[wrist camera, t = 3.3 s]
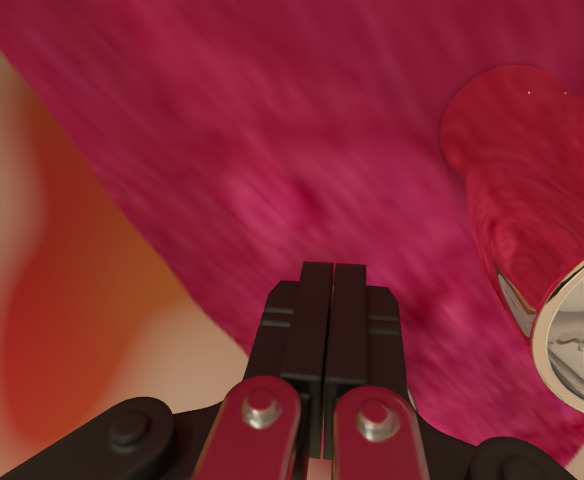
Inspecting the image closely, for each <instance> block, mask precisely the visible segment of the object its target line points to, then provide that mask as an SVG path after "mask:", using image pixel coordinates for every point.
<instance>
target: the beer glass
mask: <svg viewBox="0 0 584 480" xmlns="http://www.w3.org/2000/svg"><path fill="white" fill-rule="evenodd" d="M440 145H441V149H442V152H443V155H444V157H445V159H446V160H447V162H448V163H449V165H450V166H451V167H452V168H453V169H454V170H455V171H456V172H457V173H458V174H459V175H460V176H461V177H463V178H464V179H465V180H466V192H467V204H468V215H469V221H470V226H471V231H472V236H473V241H474V245H475V248H476V251H477V254H478V256H479V259H480V262H481V265H482V267H483V270H484V273H485V275H486V277H487V279H488V281H489V283H490V285H491V287H492V289H493V291H494V294H495V296H496V298H497V300H498V302H499V304H500V305H501V307H502V309H503V311H504V312H505V314H506V316H507V318H508V320H509V321H510V323H511V325H512V327H513V328H514V330H515V332H516V333H517V335H518V337H519V338H520V340H521V341H522V343H523V345H524V346H525V348H526V350H527V351H528V353H529V355H530V357H531V358H532V360H533V362H534V365H535V368H536V370H537V372H538V374H539V376H540V378H541V379H542V381H543V382H544V384H545V385H546V386H547V387H548V388H549V390H550V391H551V392H552V393H553V394H554V395H556V396H557V397H558V398H559V399H561V400H562V401H563V402H565V403H566V404H568V405H569V406H571V407H573V408H575V409H577V410H579V411H581V412H583V413H584V97H583V96H573V95H569V94H568V92H567V91H566V89H565V88H564V87H563V85H562V84H561V83H560V82H559V81H558V80H557V79H556V78H555V77H554V76H553V75H551V74H550V73H548V72H547V71H545V70H543V69H541V68H538V67H535V66H531V65H525V64H510V65H503V66H499V67H495V68H492V69H489V70H487V71H485V72H483V73H481V74H479V75H477V76H476V77H474V78H473V79H471V80H470V81H469V82H467V83H466V84H465V85H464V86H463V87H462V88H461V89H460V90H459V91H458V92H457V93H456V94H455V95H454V97H453V98H452V99H451V101H450V103H449V104H448V106H447V108H446V110H445V112H444V115H443V118H442V121H441V126H440Z"/></svg>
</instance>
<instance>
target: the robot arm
mask: <svg viewBox="0 0 584 480" xmlns="http://www.w3.org/2000/svg"><path fill="white" fill-rule="evenodd" d="M333 270H334V264H333V263H323V262H306V261H304V263H303V267H302V272H301V276H300V281H299V282H298V281H282V280H281V281H280V282H279V283H278V284H277V285H276V286H275V287H274V288H273V290H272V291H271V292H270V293H269V294H268V298H267V301H266V304H265V308H264V312H263V314H262V318H261V321H260V325H259V328H258V331H257V334H256V338H255V341H254V344H253V348H252V351H251V354H250V358H249V361H248V365H247V368H246V371H245V375H244V377H243V380H242V381H241V382H240V383H238V384H237V385H235V386H234V387H233V388H232V389H231V390H230V391H229V392H228V394H227V395H226V396H225V398H224V400H223V401H221V402H219V403H218V404H215V405H213V406H210V407H206V408H202V409H197V410H192V411H187V412H182V413H177V414H172V412H171V410H170V408H169V407H168V406H167V405H166V404H165V403H164V402H162V401H161V400H159V399H156V398H152V397H136V398H132V399H128V400H125V401H123V402H120V403H118V404H116V405H115V406H113V407H111V408H110V409H108V410H106V411H105V412H103V413H102V414H100V415H99V416H97V417H95V418H94V419H92V420H90V421H89V422H87V423H86V424H84V425H82V426H81V427H79V428H78V429H76V430H74V431H73V432H71V433H70V434H68V435H67V436H65V437H63V438H62V439H60V440H59V441H57V442H55V443H54V444H52V445H51V446H49V447H47V448H46V449H44V450H43V451H41V452H40V453H38V454H36V455H35V456H33V457H31V458H30V459H28V460H27V461H25V462H24V463H22V464H20V465H19V466H17V467H16V468H14V469H13V470H11V471H9V472H8V473H6V474H4V475H3V476H1V477H0V480H307V471H308V461H309V458H317V459H320V453H321V442H322V430H323V419H324V450H323V458H324V459H327V460H332V472H331V480H577V479H576V478H575V477H574V476H573V475H571V474H570V473H569V472H568V471H567V470H566V469H564V468H563V467H562V466H561V465H560V464H559V463H557V462H556V461H555V460H554V459H553V458H552V457H550V456H549V455H548V454H547V453H545V452H544V451H543V450H541V449H539V448H538V447H536V446H534V445H532V444H530V443H528V442H526V441H523V440H520V439H517V438H512V437H493V438H490V439H487V440H485V441H483V442H482V443H480V444H479V445H478V446H477V447H476V446H474V445H472V444H469V443H467V442H464V441H462V440H459V439H457V438H454V437H452V436H449V435H447V434H445V433H443V432H441V431H439V430H437V429H436V428H434V427H432V426H431V425H430V424H428V423H427V422H426V421H425V420H424V419H423V418H422V417H421V416H420V415H419V414H418V412H417V411H416V410H415V408H414V407H413V405H412V403H411V401H410V398H409V394H408V388H407V379H406V370H405V361H404V352H403V343H402V336H401V325H400V316H399V307H398V301H397V300H396V299H395V297H394V296H393V294H392V293H391V292H390V290H389V289H388V287H378V286H366V265H360V264H343V263H336V267H335V278H334V288H333Z"/></svg>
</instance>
